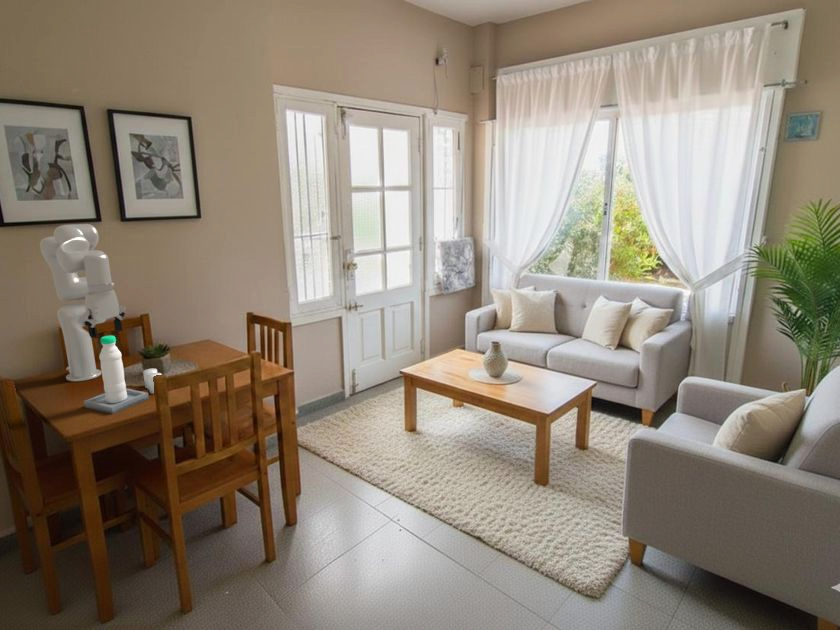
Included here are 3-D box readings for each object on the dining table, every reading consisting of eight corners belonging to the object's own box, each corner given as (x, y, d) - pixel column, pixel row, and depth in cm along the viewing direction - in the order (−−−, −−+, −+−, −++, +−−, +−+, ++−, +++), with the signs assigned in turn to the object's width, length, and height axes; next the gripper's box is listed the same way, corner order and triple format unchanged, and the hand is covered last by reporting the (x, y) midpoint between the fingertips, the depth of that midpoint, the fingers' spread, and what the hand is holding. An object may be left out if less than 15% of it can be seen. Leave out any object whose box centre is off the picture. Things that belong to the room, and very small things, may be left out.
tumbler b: (142, 387, 208) (140, 371, 206) (153, 383, 212) (150, 367, 210) (151, 389, 206) (149, 373, 204) (161, 385, 210) (159, 369, 209)
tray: (84, 407, 189) (83, 401, 189) (121, 392, 203) (120, 387, 202) (112, 413, 183) (111, 407, 183) (148, 398, 197) (148, 392, 196)
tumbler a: (146, 392, 203) (144, 376, 201) (157, 388, 207) (155, 372, 206) (155, 394, 201) (153, 377, 199) (166, 390, 205) (164, 373, 204)
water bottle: (117, 404, 189) (108, 339, 183) (101, 403, 190) (91, 338, 184) (131, 397, 196) (123, 334, 190) (115, 395, 197) (106, 333, 191)
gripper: (115, 283, 192) (120, 326, 196) (68, 291, 176) (76, 339, 181) (129, 285, 189) (134, 329, 193) (83, 293, 174) (90, 341, 178)
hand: (106, 334), depth 187 cm, fingers open, 9 cm apart
